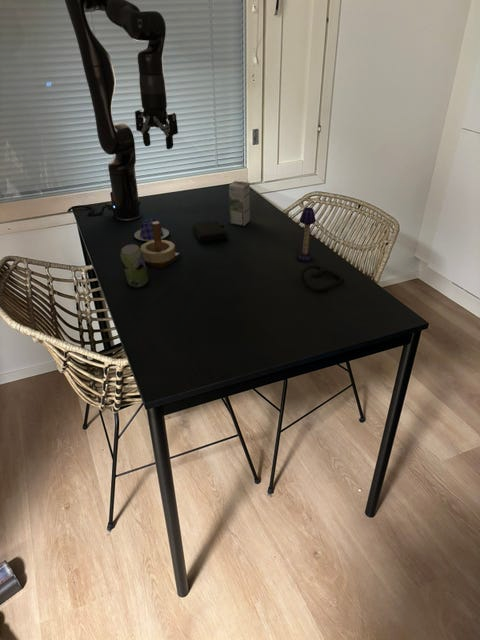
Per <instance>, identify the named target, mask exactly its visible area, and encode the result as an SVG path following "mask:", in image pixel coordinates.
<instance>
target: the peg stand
mask: <svg viewBox="0 0 480 640" xmlns="http://www.w3.org/2000/svg"><path fill="white" fill-rule="evenodd" d="M158 221H159V220H158ZM158 221H155V222H153V223H152V226H153V234H154V243H155V251H153V252H160V251H163V250H162V241H161V240H162V239H161V232H160V226H161V224H160V223H161V222H160V221H159V222H158ZM180 258H181V254H180V253H179V252H176V251H175V257H174V258H172V259H171V260H169V261H166V262H162V263H150V262H147V261H145V265H146V266H150V267H154V268H158V269H162V270H163V269H165V268H167V267H168V266H170V265H171V264H173V263H175V262H176V261H177V260H178V259H180Z"/></svg>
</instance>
